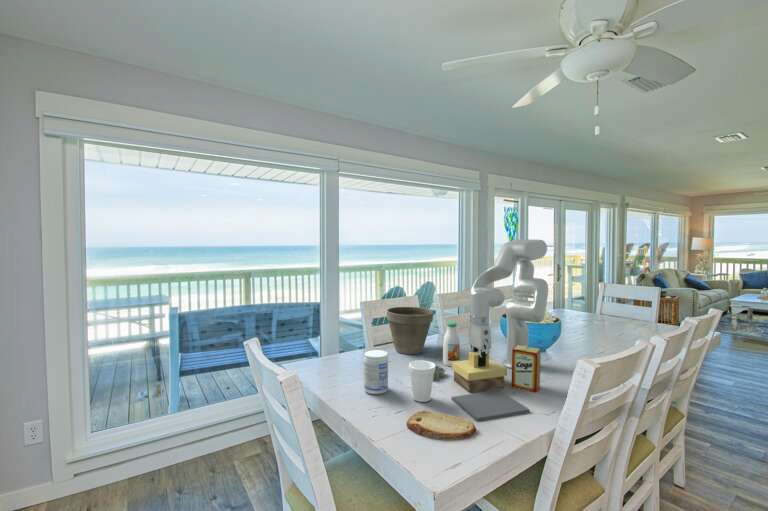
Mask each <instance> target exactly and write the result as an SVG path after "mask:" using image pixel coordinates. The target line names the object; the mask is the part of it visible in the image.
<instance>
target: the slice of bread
mask: <svg viewBox="0 0 768 511" xmlns="http://www.w3.org/2000/svg"><path fill="white" fill-rule="evenodd" d="M406 428H407V429H409V430H411V431H413V432H414V433H415V434H418V435H419V436H422V437H425V436H426V438H431V439H437V440H450V441H452V440H453V441H454V440H455V441H456V440H464V438H465V439H467V438H471V437H473V436H475V433H476V434H477V432H478V430H477V428H476V426H475V424H474V422H472V420H470V419H467V418H464V417H460V416H456V415H452V414H448V413H442V412H435V411H429V410H425V409H424V410H420V411H418V412H416V413H413V414H412V415H411V416H410V417H409V418H408V419H407V421H406ZM476 431H477V432H476Z"/></svg>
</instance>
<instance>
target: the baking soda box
mask: <svg viewBox="0 0 768 511" xmlns="http://www.w3.org/2000/svg"><path fill="white" fill-rule="evenodd" d="M541 352H542V350H541V348H537V347H530V346H529V345H528V346H520V345H516V346H515V347H514V348H513V349H512V369H511V388H514V387H515V388H514V389H518V388H520V389H519V390H523V389H524V390H523V391H527V390H529V391H528V392H532V391H533V392H532V393H537V392H538V391H539V389H540V387H541V384H540V383H541ZM537 390H538V391H537Z"/></svg>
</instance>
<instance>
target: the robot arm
mask: <svg viewBox="0 0 768 511" xmlns="http://www.w3.org/2000/svg"><path fill="white" fill-rule="evenodd" d="M501 246H502V247H501V249H500V250H499V253H498V255H497V257H496V259H495V261H494V263H493V265H492V266H491V267H490V268H487V269H486V270H485V271H483V272H482V273H481V274H480V275H478V277H477V278H476V279H475V280H474V283H473V285H472V287H471V290H470V292H469V298H470V301H469V303H470V304H469V307H470V308H469V309H470V310H469V315H470V316H469V328H468V331H469V332H468V344H469V347H470V348H471V350H470V352H478V351H479V357H478V366H479V367H481V366H486V356H487V354H490V353H491V348H492V335H491V334H492V333H491V332H492V331H491V326H490V307H494V308H496V307H499V306H501V305H503V304H504V302H505V299H506V298H505V296H506V295H505V293H504V292H503V291H502V290H501V289H498V288H493V287H488V286H489V285H490V284H492V283H494V282H497V281H500V280H505V279H507V278H509V277H510V276H512V274H513V272H514V275H513V281H512V282H513V283H512V288H511V289H512V290H511V291H512V294H513V295H514V296H517V297H519V298H512V299H509V300H508V301H506V304H505V306H504V309H505V315H506V317H505V318H506V359H504V360H503V362H502V366H503V367H505V368H507V369H511V370H512V349H513V348H514V347H515V346H516V345H520V346H528V347H529V327H528V325H527V322H530V323H535V324H538V323H542V322H543V321H544V318H545V315H546V310H547V304H548V297H549V284H548V282H547V281H546V279H543V278H538V277H534V274H535V266H534V264H533V261H536V260H539V259H542V258H544V257H545V256H546V254H547V252H548V245H547V243H546V241H544V240H543V239H526V238H525V239H523V238H522V239H520V238H519V239H514V240H511V241H506V242H505V243H504V244H503V245H501ZM514 269H515V270H514ZM520 297H521V298H529V299H533V300H527V299H521V298H520ZM482 351H484V352H482Z"/></svg>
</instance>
